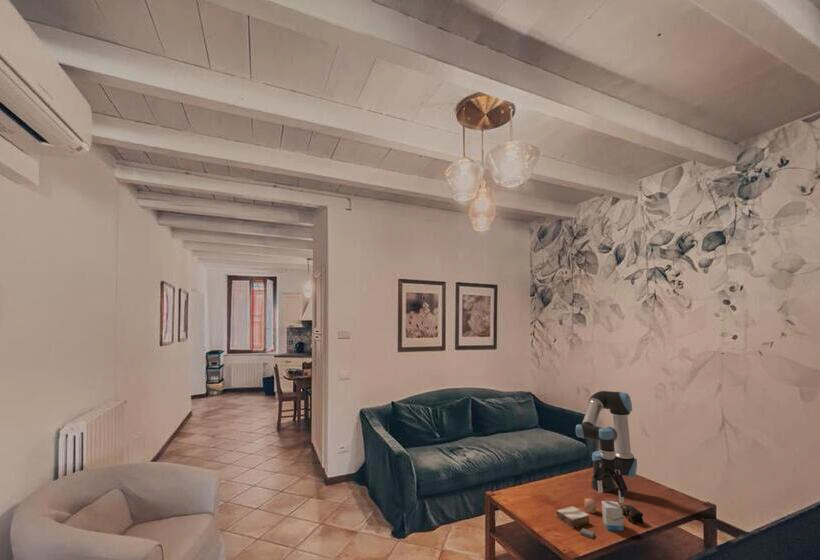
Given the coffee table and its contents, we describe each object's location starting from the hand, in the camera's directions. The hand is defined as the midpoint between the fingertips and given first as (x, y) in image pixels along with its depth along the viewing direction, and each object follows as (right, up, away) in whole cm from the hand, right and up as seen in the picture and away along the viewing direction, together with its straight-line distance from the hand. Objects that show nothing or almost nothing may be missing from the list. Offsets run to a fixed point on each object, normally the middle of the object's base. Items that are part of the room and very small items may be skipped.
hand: (610, 497), depth 214 cm
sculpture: (+15, -16, +6) cm, 23 cm away
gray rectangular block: (-17, -15, -9) cm, 24 cm away
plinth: (-19, -17, +6) cm, 26 cm away
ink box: (+1, -16, -1) cm, 16 cm away
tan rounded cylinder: (-4, -17, +16) cm, 24 cm away
